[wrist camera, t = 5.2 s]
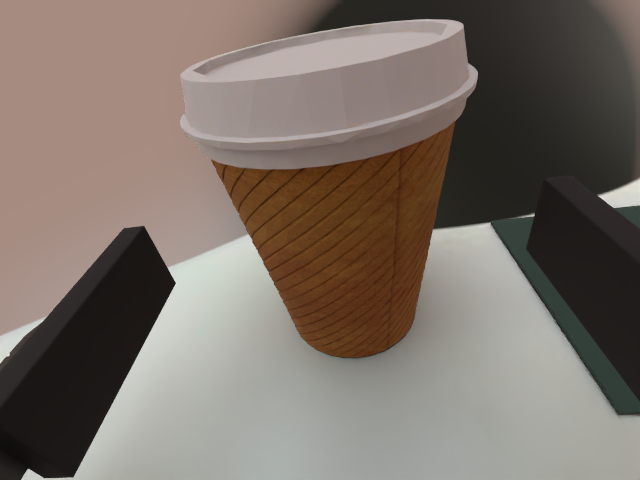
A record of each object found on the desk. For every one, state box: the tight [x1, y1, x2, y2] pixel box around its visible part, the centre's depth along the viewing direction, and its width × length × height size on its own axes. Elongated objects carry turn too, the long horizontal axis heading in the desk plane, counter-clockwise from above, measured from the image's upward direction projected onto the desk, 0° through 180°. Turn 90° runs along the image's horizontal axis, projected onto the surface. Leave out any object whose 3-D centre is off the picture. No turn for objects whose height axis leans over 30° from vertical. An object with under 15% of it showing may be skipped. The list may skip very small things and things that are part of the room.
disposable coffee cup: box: [180, 19, 478, 357], centre depth 14 cm, size 10×10×12 cm
